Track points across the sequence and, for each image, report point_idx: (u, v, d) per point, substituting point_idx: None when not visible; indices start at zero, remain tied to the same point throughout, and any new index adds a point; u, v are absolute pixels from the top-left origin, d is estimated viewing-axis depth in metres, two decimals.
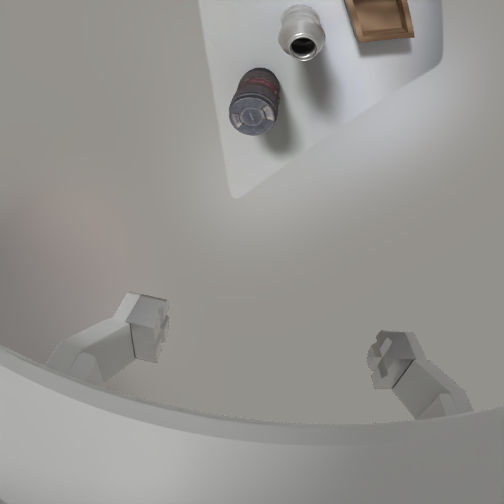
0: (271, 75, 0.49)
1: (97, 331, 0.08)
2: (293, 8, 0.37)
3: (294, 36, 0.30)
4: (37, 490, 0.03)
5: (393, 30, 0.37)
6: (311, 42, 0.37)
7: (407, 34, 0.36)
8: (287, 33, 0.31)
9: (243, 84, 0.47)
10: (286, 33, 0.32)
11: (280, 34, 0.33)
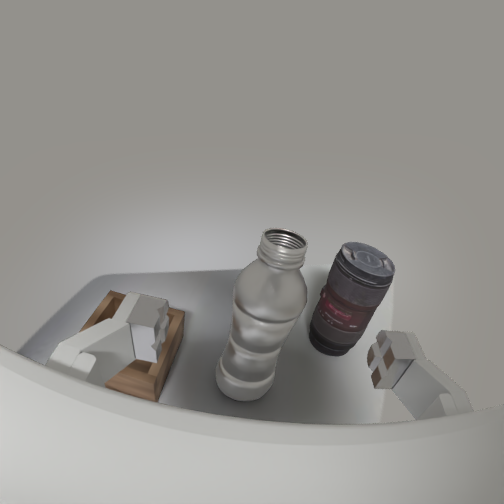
0: (317, 329, 0.40)
1: (97, 331, 0.08)
2: (246, 388, 0.29)
3: (289, 261, 0.23)
4: (37, 490, 0.03)
5: None
6: None
7: (116, 296, 0.36)
8: (293, 288, 0.24)
9: (361, 316, 0.36)
10: (293, 292, 0.24)
11: (301, 302, 0.25)
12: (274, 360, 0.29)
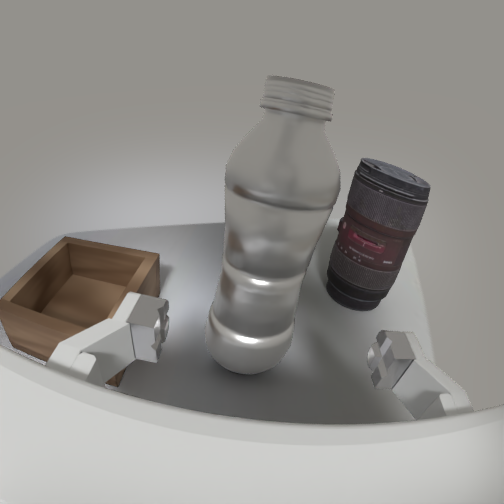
0: (339, 273, 0.30)
1: (97, 331, 0.08)
2: (253, 348, 0.19)
3: (312, 101, 0.13)
4: (37, 490, 0.03)
5: (88, 264, 0.26)
6: None
7: (71, 241, 0.25)
8: (322, 151, 0.14)
9: (397, 247, 0.26)
10: (322, 157, 0.14)
11: (336, 178, 0.15)
12: (295, 297, 0.19)
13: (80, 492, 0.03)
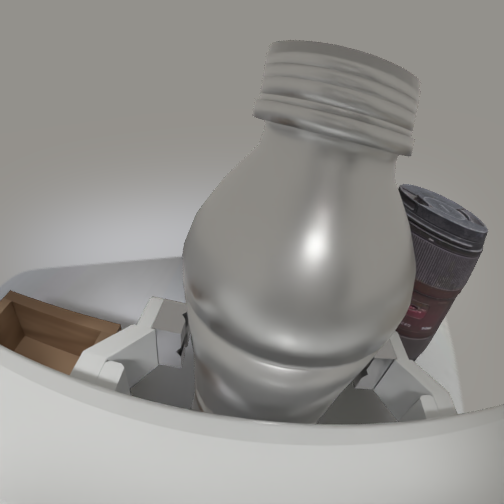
0: None
1: (122, 338, 0.08)
2: None
3: (387, 110, 0.05)
4: (37, 490, 0.03)
5: (38, 328, 0.18)
6: None
7: (16, 299, 0.17)
8: (398, 231, 0.06)
9: (441, 310, 0.18)
10: (395, 245, 0.06)
11: (412, 281, 0.07)
12: None
13: (80, 492, 0.03)
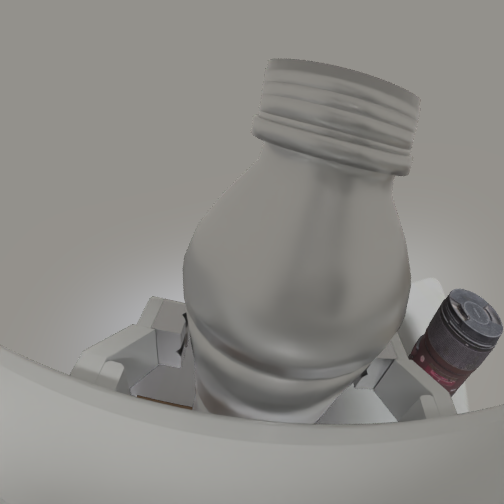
0: None
1: (122, 338, 0.08)
2: None
3: (386, 132, 0.05)
4: (37, 490, 0.03)
5: None
6: None
7: None
8: (393, 250, 0.06)
9: (464, 379, 0.24)
10: (390, 263, 0.06)
11: (407, 295, 0.07)
12: None
13: (80, 492, 0.03)
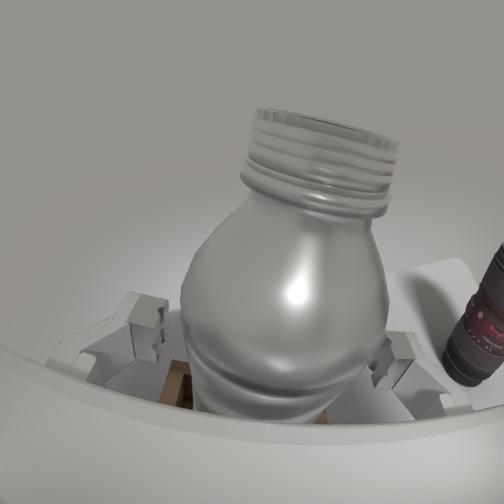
0: (467, 359, 0.23)
1: (97, 331, 0.08)
2: None
3: (363, 181, 0.06)
4: (37, 490, 0.03)
5: None
6: None
7: (188, 370, 0.19)
8: (370, 283, 0.07)
9: None
10: (368, 295, 0.07)
11: (384, 321, 0.08)
12: None
13: (80, 492, 0.03)
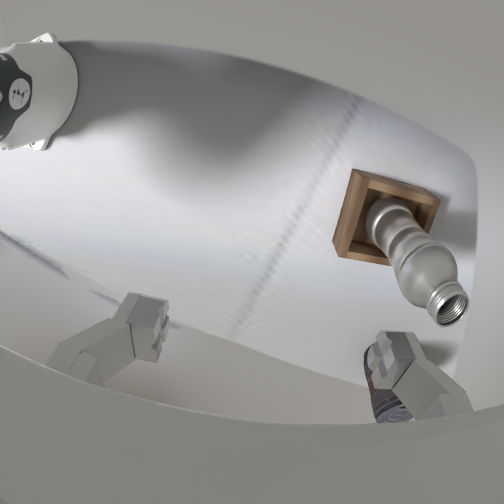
0: None
1: (97, 331, 0.08)
2: (371, 226, 0.35)
3: (430, 307, 0.22)
4: (37, 491, 0.03)
5: (420, 215, 0.36)
6: None
7: (433, 208, 0.33)
8: (416, 300, 0.24)
9: (370, 388, 0.45)
10: (414, 298, 0.24)
11: None
12: None
13: (80, 492, 0.03)
